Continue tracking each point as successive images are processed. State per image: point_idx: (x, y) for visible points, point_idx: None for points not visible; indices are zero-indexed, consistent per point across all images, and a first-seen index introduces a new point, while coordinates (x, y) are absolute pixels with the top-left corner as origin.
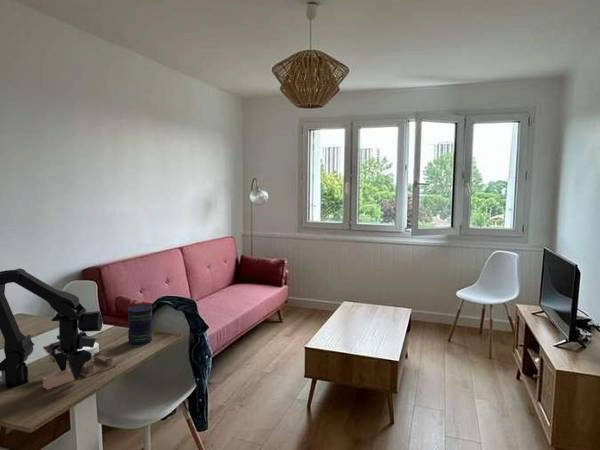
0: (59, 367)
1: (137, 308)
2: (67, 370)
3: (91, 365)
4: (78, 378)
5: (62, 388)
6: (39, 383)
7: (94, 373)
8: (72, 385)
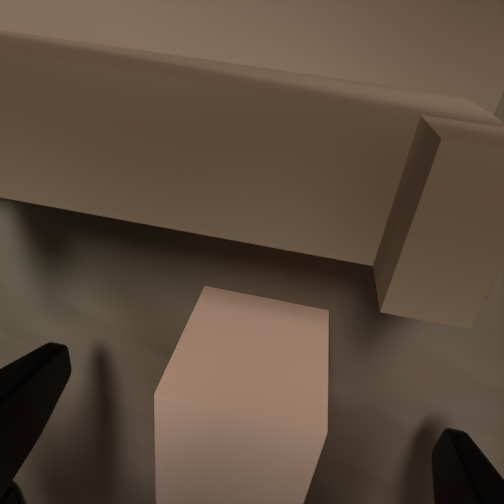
0: (13, 473)
1: None
2: (197, 484)
3: (501, 215)
4: (471, 443)
5: (380, 492)
6: (95, 474)
7: (490, 101)
8: (429, 438)
